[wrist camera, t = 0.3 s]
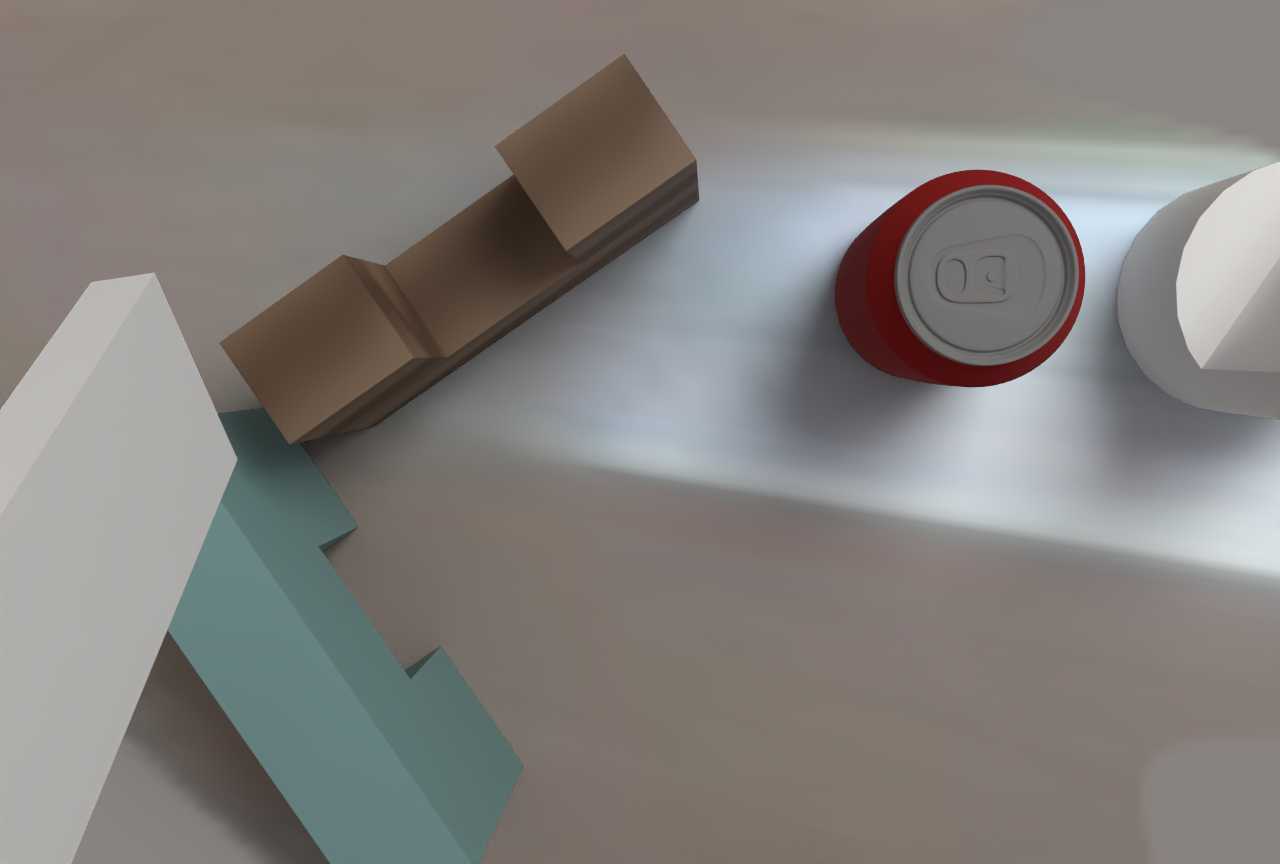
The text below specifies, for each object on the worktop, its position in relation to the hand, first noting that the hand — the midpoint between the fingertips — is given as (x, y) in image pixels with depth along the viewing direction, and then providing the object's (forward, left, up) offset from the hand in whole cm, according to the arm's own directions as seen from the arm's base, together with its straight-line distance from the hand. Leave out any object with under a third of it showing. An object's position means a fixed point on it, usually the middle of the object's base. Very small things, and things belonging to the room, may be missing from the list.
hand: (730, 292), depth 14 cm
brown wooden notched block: (+7, +6, -34) cm, 35 cm away
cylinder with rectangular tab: (-10, -17, -34) cm, 40 cm away
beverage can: (-3, -7, -34) cm, 35 cm away
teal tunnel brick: (-1, +19, -34) cm, 39 cm away
